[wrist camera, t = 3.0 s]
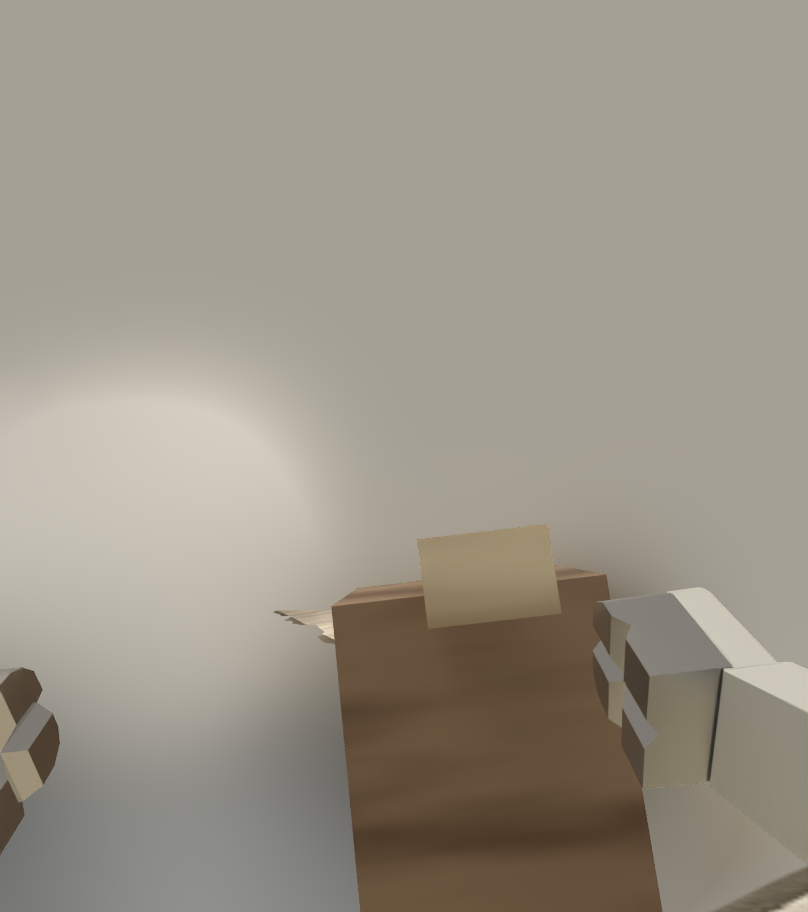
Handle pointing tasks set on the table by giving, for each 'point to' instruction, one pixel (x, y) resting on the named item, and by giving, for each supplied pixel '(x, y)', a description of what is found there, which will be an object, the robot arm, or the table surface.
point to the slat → (488, 576)
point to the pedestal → (487, 760)
